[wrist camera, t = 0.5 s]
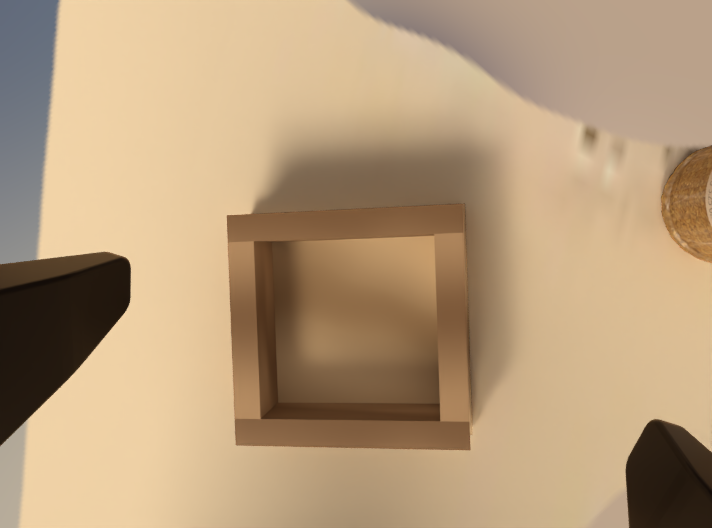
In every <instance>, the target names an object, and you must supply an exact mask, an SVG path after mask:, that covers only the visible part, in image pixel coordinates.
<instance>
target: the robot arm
mask: <svg viewBox="0 0 712 528" xmlns="http://www.w3.org/2000/svg"><path fill="white" fill-rule="evenodd" d="M130 289H131V267H130V262H129V261H128V259H127V258H125V257H123V256H119V255H116V254H113V253H110V252H99V253H91V254H82V255H74V256H66V257H58V258H49V259H41V260H33V261H24V262H16V263H8V264H0V446H1V445H2V444H3V443H4V442H5V441H6V440H7V439H8V438H9V437H10V436H11V435H12V434H13V433H14V432H15V431H16V430H17V429H18V428H19V427H20V426H21V425H22V424H23V423H24V422H25V421H26V420H27V419H28V418H29V417H30V416H31V415H32V414H33V413H34V412H35V411H36V410H38V409H39V408H40V407H41V406H42V405H43V404H44V403H45V402H46V401H47V400H48V399H49V398H50V397H51V396H52V395H53V394H54V393H55V392H56V391H57V390H58V389H59V388H60V387H61V386H62V385H63V384H64V383H65V382H66V381H67V380H68V379H69V378H70V377H71V376H72V375H73V374H74V373H75V371H76V370H77V369H78V368H79V367H80V366H81V365H82V364H83V362H84V361H85V360H86V359H87V358H88V356H89V355H90V354H91V353H92V351H93V350H94V349H95V348H96V347H97V345H98V344H99V343H100V342H101V341H102V339H103V338H104V337H105V336H106V335H107V333H108V332H109V331H110V330H111V329H112V327H113V326H114V325H115V324H116V323H117V321H118V320H119V319H120V318H121V316H122V315H123V314H124V313H125V311H126V310H127V308H128V306H129V303H130ZM626 486H627V502H628V517H629V528H712V452H711V451H709V450H708V449H707V448H706V447H705V446H704V445H703V444H701V443H700V442H699V441H698V440H697V439H696V438H695V437H693V436H692V435H691V434H690V433H689V432H688V431H686V430H685V429H684V428H683V427H681V426H679V425H675V424H672V423H669V422H665V421H662V420H658V419H654V420H651V421H650V422H649V423H648V424H647V425H646V427H645V428H644V430H643V432H642V434H641V436H640V437H639V439H638V441H637V443H636V444H635V446H634V448H633V450H632V452H631V453H630V455H629V457H628V460H627V464H626Z"/></svg>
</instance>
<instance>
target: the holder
mask: <svg viewBox="0 0 712 528" xmlns="http://www.w3.org/2000/svg"><path fill="white" fill-rule="evenodd" d="M227 232H228V257H229V283H230V308H231V334H232V359H233V385H234V410H235V436H236V445H246V446H293V447H341V448H389V449H437V450H470V435H472V408H471V377H470V346H469V315H468V284H467V253H466V222H465V204H447V205H426V206H406V207H386V208H365V209H345V210H325V211H305V212H284V213H264V214H244V215H227Z"/></svg>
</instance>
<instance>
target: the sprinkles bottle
mask: <svg viewBox="0 0 712 528" xmlns="http://www.w3.org/2000/svg"><path fill="white" fill-rule="evenodd" d="M661 201H662V216H663V219H664V222H665V224H666V227H667V229H668V231H669V233H670V235H671V237H672V239H673V240H674V241H675V242H676V243H677V244H678V245H679V246H680V247H681V248H682V249H683V250H684V251H686V252H688V253H690V254H691V255H693V256H694V257H696V258H698V259H701V260H704V261H707V262H711V263H712V146H709V147H706V148H703V149H700V150H698V151H696V152H694V153H692V154H691V155H690V156H688V157H687V158H686V159H685V160H683V162H682V163H680V164H679V166H678V167H677V168H676V169H675V171H674V173H673V174H672V175H671V176H670V177H669V180H668V182H667V184H666V185H665V188H664V192H663V195H662V197H661Z"/></svg>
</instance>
